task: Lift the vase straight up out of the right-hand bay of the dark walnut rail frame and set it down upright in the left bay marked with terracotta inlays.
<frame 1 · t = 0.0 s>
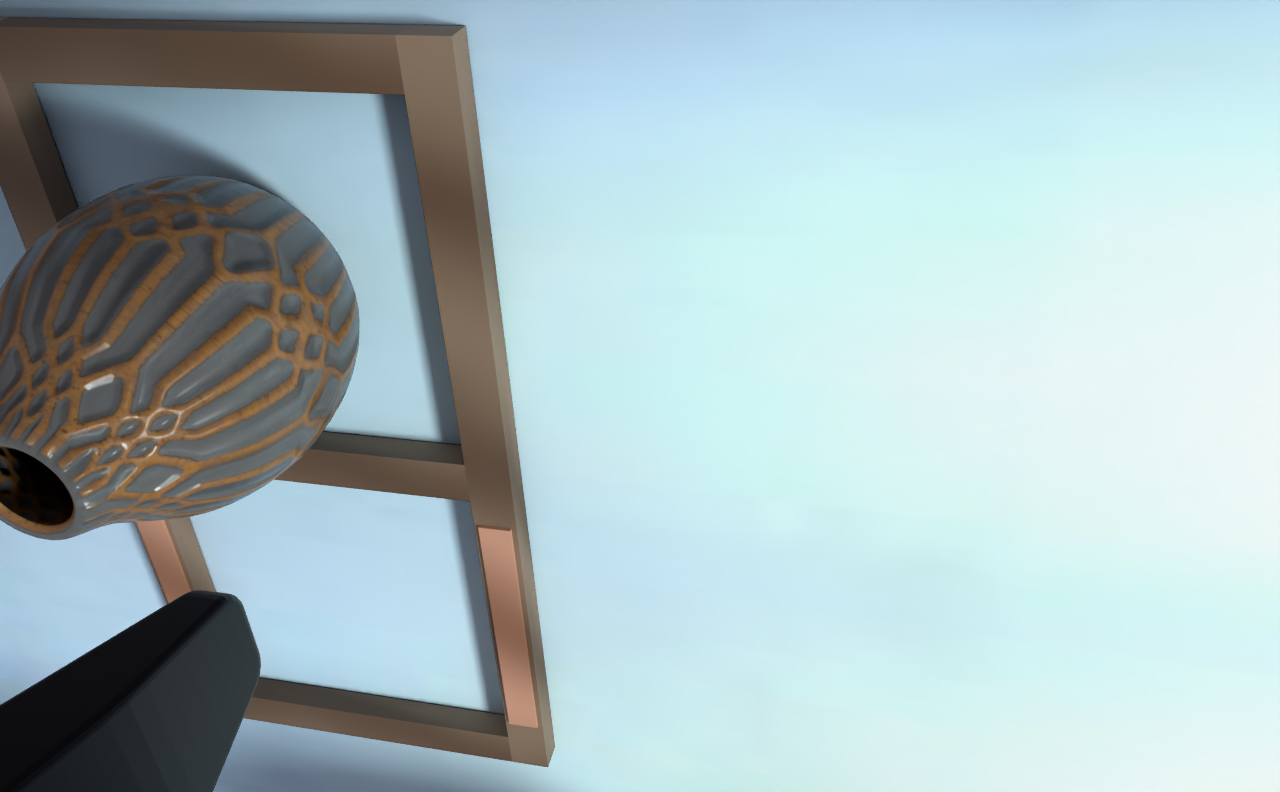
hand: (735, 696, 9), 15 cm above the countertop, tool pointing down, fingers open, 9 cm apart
rail frame: (312, 447, 28), on the countertop
vase: (271, 267, 26), resting in rail frame
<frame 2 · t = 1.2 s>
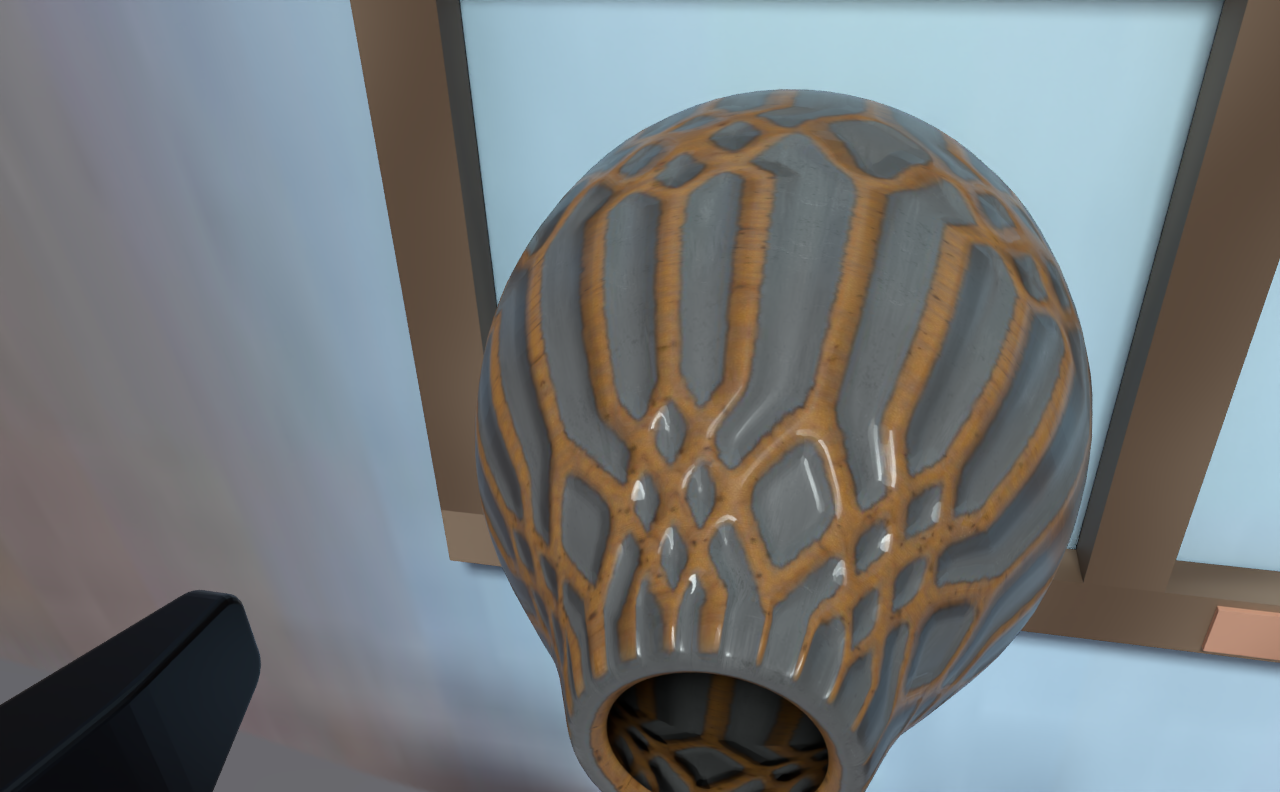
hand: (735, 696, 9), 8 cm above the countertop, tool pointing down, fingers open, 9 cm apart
rail frame: (1192, 293, 14), on the countertop
vase: (799, 261, 15), resting in rail frame
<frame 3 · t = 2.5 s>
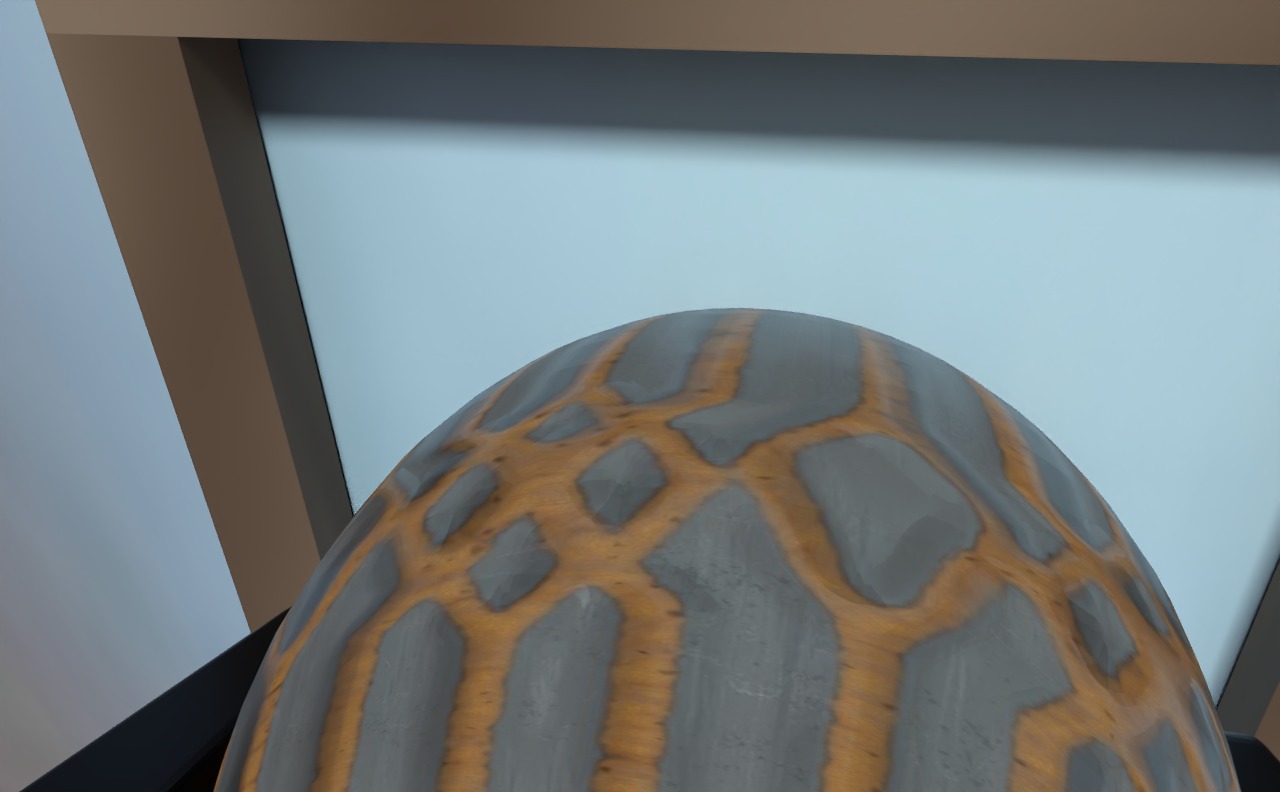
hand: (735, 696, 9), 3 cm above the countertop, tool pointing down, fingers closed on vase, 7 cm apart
vase: (770, 492, 11), resting in rail frame, touching gripper
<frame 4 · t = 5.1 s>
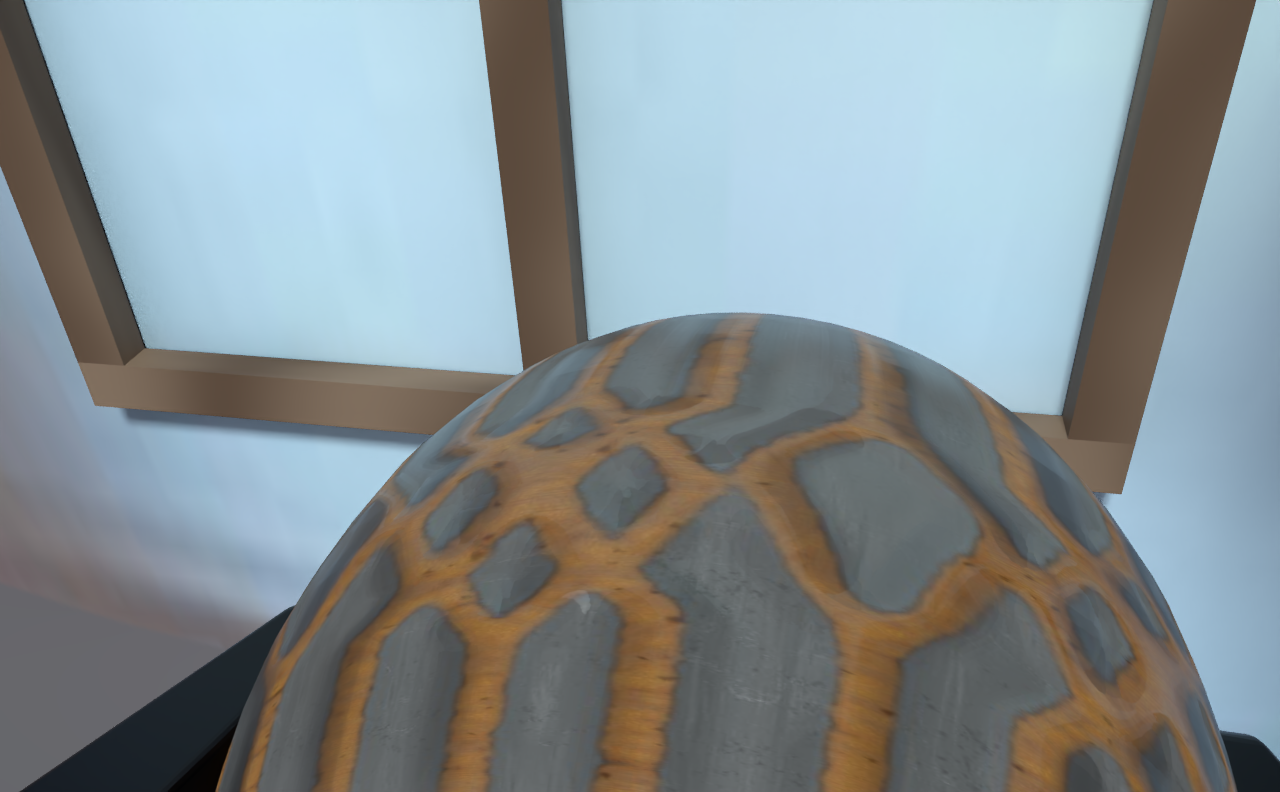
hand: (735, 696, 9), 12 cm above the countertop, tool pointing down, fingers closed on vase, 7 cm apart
rail frame: (543, 166, 20), on the countertop
vase: (769, 495, 11), point 10 cm above the countertop, touching gripper
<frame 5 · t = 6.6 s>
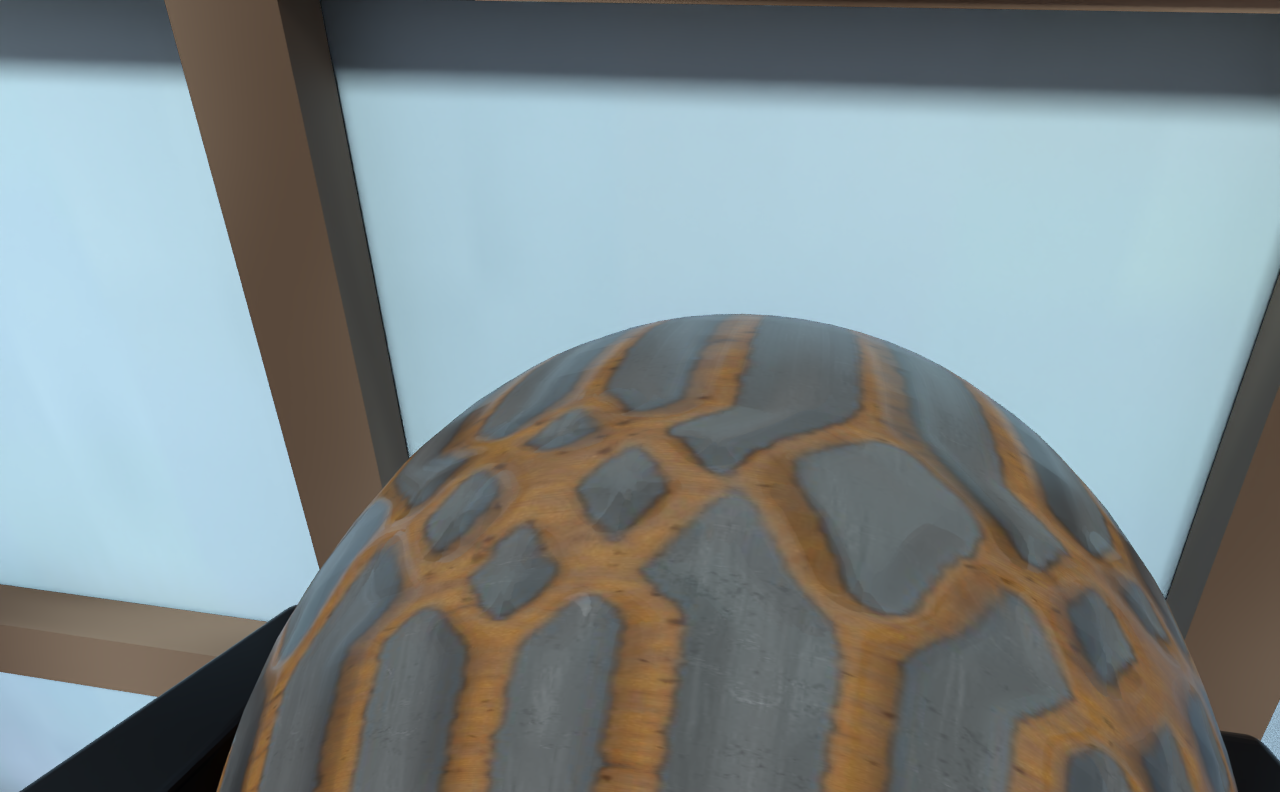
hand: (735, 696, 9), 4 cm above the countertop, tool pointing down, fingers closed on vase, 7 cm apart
rail frame: (349, 376, 13), on the countertop
vase: (770, 496, 11), point 2 cm above the countertop, touching gripper
when the fingers open (4 cm above the countertop, at t = 7.6 s): vase drops 1 cm, resting in rail frame.
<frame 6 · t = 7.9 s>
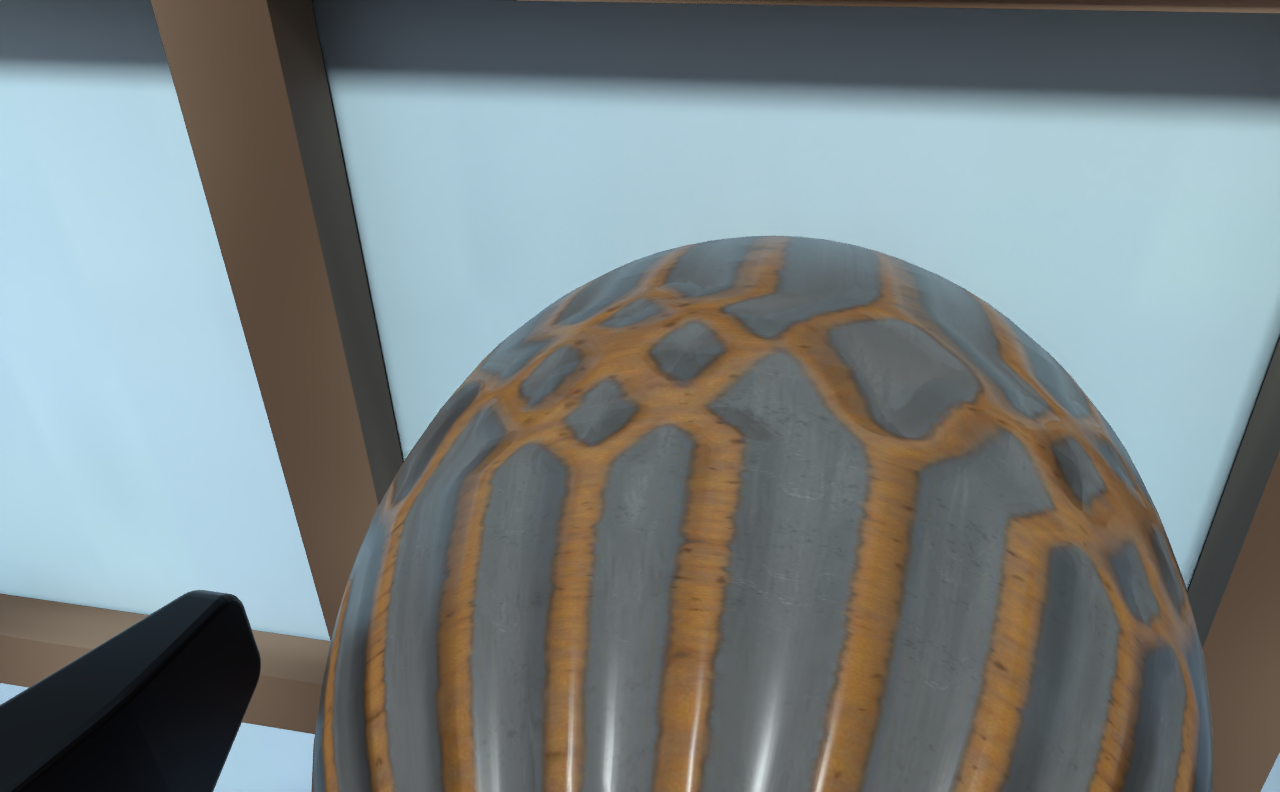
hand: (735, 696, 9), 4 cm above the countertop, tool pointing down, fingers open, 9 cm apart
rail frame: (343, 384, 13), on the countertop
vase: (790, 417, 12), resting in rail frame
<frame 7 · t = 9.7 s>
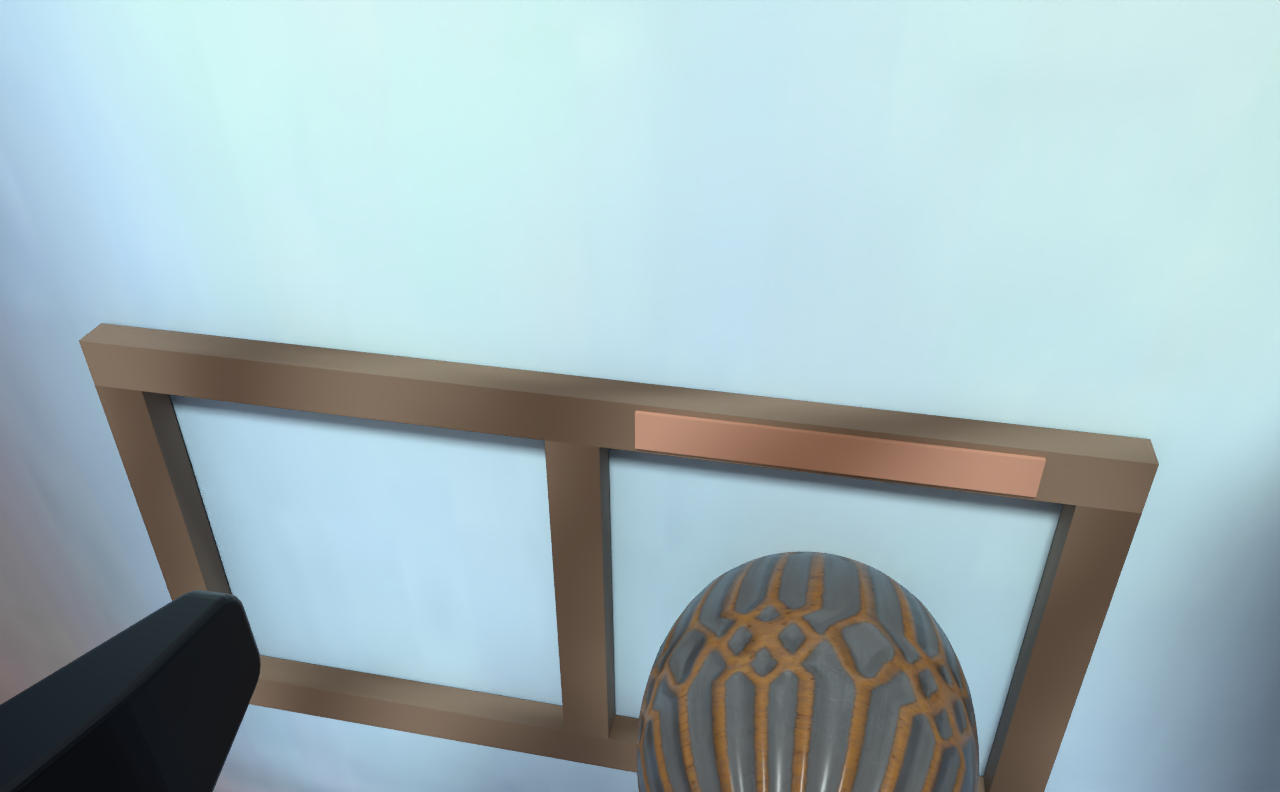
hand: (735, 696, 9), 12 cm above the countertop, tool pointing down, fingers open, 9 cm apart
rail frame: (588, 582, 25), on the countertop
vase: (815, 609, 24), resting in rail frame
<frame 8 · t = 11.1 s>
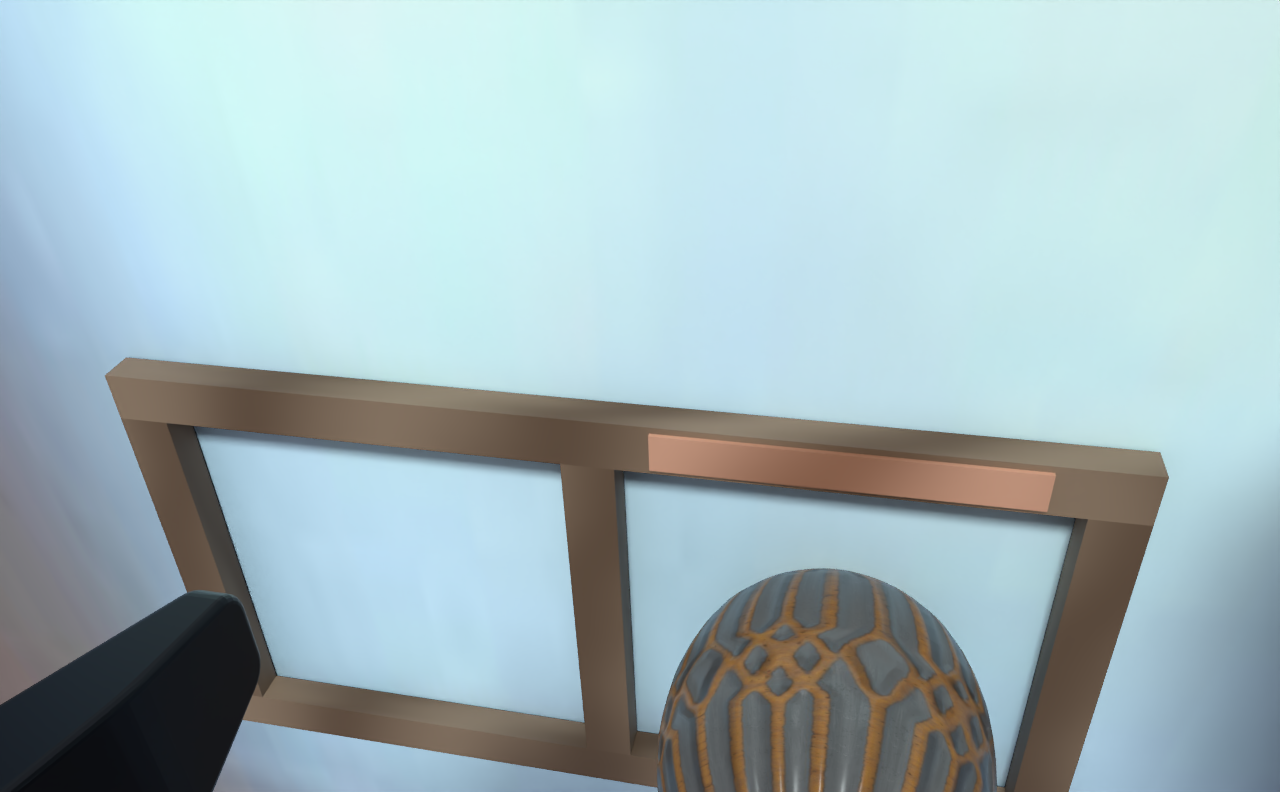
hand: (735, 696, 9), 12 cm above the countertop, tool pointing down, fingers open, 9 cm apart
rail frame: (606, 601, 25), on the countertop
vase: (832, 624, 25), resting in rail frame
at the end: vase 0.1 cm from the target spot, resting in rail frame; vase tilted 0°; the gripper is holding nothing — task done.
